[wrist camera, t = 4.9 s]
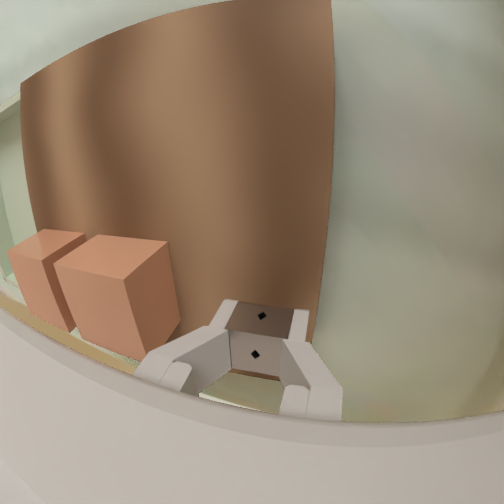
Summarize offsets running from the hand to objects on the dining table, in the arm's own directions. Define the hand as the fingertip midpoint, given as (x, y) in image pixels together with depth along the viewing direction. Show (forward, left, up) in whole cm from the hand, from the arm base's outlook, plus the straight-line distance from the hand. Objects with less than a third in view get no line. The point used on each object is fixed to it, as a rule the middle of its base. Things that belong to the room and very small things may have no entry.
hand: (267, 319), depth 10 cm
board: (+6, -3, -5) cm, 9 cm away
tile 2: (+6, 0, -1) cm, 6 cm away
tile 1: (+11, 0, -1) cm, 11 cm away
